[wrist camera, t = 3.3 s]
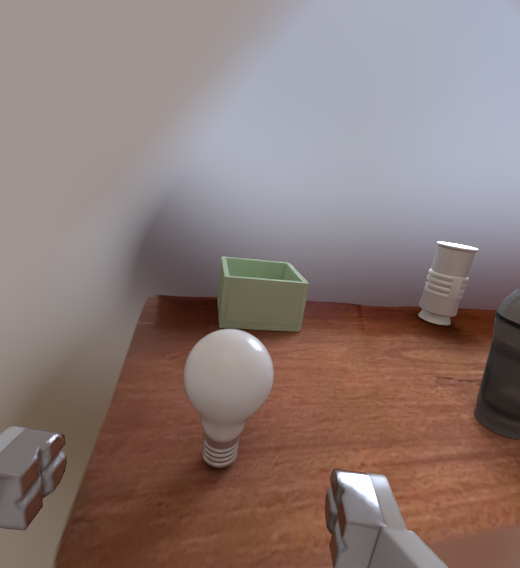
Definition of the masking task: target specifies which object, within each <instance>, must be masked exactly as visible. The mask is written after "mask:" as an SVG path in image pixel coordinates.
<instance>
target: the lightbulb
mask: <svg viewBox="0 0 520 568" xmlns="http://www.w3.org/2000/svg"><path fill="white" fill-rule="evenodd" d="M273 379H274V370H273V363H272V360H271V357H270V355H269V352H268V351H267V349H266V348H265V346H264V345H263V344H262V343H261V342H260V341H259V340H258V339H257V338H256V337H254V336H253V335H251V334H249V333H247V332H245V331H242V330H238V329H222V330H217V331H214V332H212V333H210V334H208V335H206V336H205V337H203V338H202V339H201V340H199V341H198V342H197V343H196V344H195V346H194V347H193V348H192V350H191V351H190V353H189V355H188V357H187V360H186V363H185V366H184V373H183V381H184V387H185V391H186V394H187V396H188V398H189V400H190V402H191V404H192V405H193V407H194V408H195V409H196V410H197V412H198V413H199V414H200V416H201V423H202V427H203V429H204V431H205V432H204V443H203V453H202V455H203V459H204V460H205V462H206V463H207V464H208V465H210V466H212V467H215V468H224V467H228V466H230V465H231V464H233V463H234V461H235V460H236V457H237V451H238V444H239V437H240V434H241V433H242V431H243V429H244V427H245V425H246V422H247V420H248V419H249V418H250V417H251V416H252V415H254V414H255V413H256V412H257V411H258V410H259V409H260V408H261V407H262V406H263V404H264V403H265V402H266V400H267V398H268V396H269V394H270V392H271V389H272V385H273Z"/></svg>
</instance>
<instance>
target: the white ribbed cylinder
mask: <svg viewBox="0 0 520 568" xmlns="http://www.w3.org/2000/svg"><path fill="white" fill-rule="evenodd" d="M437 245H438V248H437V251H436V254H435V257H434V261H433V264H432V267H431V269H429V271H428V272H429V273H430V274H429V275H428V276H427V279H428V280H426V281H425V284H426V285H425V286H424V293H423V295H422V298H421V300H420V303H419V306H420V307H421V308H422V309H423V310H422V311H421V312H420V313H419V314H418V316H419V317H420V318H422V319H424V320H426V321H428V322H431V323H435V324H439V325H450V324H451V322H450V317H451V316H456V314H457V310H458V306H459V302H460V299H462V298H463V295H462V293H464V292H465V289H464V288H465V287H466V286H467V284H466V282H467V281H468V280H469V278H468V274H469V271H470V268H471V265H472V262H473V259H474V256H475V253H476V252H478V249H477V248H473V247H470V246H465V245H460V244H454V243H448V242H437Z"/></svg>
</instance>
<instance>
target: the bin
mask: <svg viewBox="0 0 520 568" xmlns="http://www.w3.org/2000/svg"><path fill="white" fill-rule="evenodd" d="M308 286H309V283H308V282H307V281H306V280H305V279H304V278H303V277H302V276H301V275H300V273H299V272H298V271H296V269H295V268H294V267H293V266H292V265H291V264H290V263H288V262H277V261H266V260H255V259H245V258H233V257H223V256H222V257H221V264H220V275H219V285H218V296H217V302H218V317H219V328H234V329H253V330H272V331H290V332H300V330H301V325H302V320H303V314H304V309H305V303H306V298H307V292H308Z"/></svg>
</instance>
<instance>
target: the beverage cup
mask: <svg viewBox="0 0 520 568" xmlns="http://www.w3.org/2000/svg"><path fill="white" fill-rule="evenodd" d="M495 316H496V318H495V322H494V330H493V334H494V336H493V340H492V344H491V347H490V351H489V355H488V359H487V363H486V366H485V370H484V374H483V378H482V382H481V385H480V389H479V393H478V397H477V404H476V409H475V412H474V415H475V417H476V419H477V420H478V421H479V422H480V423H481V424H482V425H484V426H485V427H486V428H488V429H490V430H491V431H493V432H495V433H497V434H499V435H502V436H505V437H508V438H512V439H520V289H518V290H516V291H514V292H513V293H511V294H510V295H509V296H508V297H507V298H506V299H505V300H504V301H503V302H502V304H501V305H500V307H499V309H498V310H497V311H496V312H495Z"/></svg>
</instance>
